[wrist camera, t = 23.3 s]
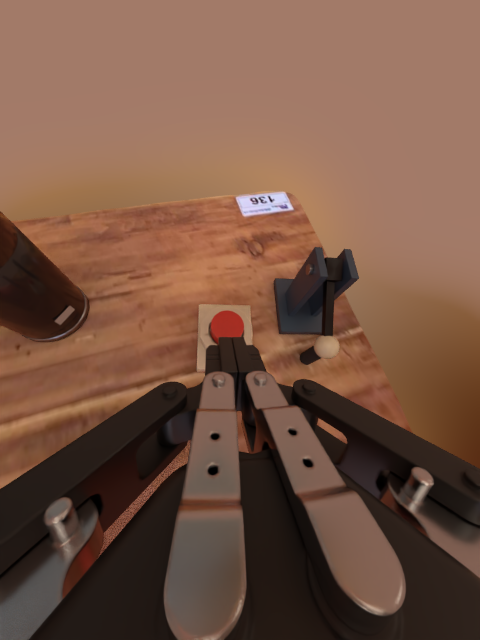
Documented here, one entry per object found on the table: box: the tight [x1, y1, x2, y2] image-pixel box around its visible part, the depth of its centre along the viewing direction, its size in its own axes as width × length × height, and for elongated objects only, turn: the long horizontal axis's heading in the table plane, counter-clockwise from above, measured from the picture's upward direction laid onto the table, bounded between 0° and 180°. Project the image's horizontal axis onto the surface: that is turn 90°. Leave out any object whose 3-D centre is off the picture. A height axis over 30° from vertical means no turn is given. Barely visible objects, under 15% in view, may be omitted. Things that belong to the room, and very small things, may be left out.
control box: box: [197, 304, 253, 372], centre depth 33 cm, size 10×8×4 cm
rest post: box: [300, 346, 321, 365], centre depth 34 cm, size 2×2×5 cm
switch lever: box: [314, 258, 343, 359], centre depth 30 cm, size 13×3×3 cm, turn 2°
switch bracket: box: [274, 247, 359, 334], centre depth 34 cm, size 10×8×13 cm
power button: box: [211, 310, 244, 343], centre depth 31 cm, size 4×4×2 cm
